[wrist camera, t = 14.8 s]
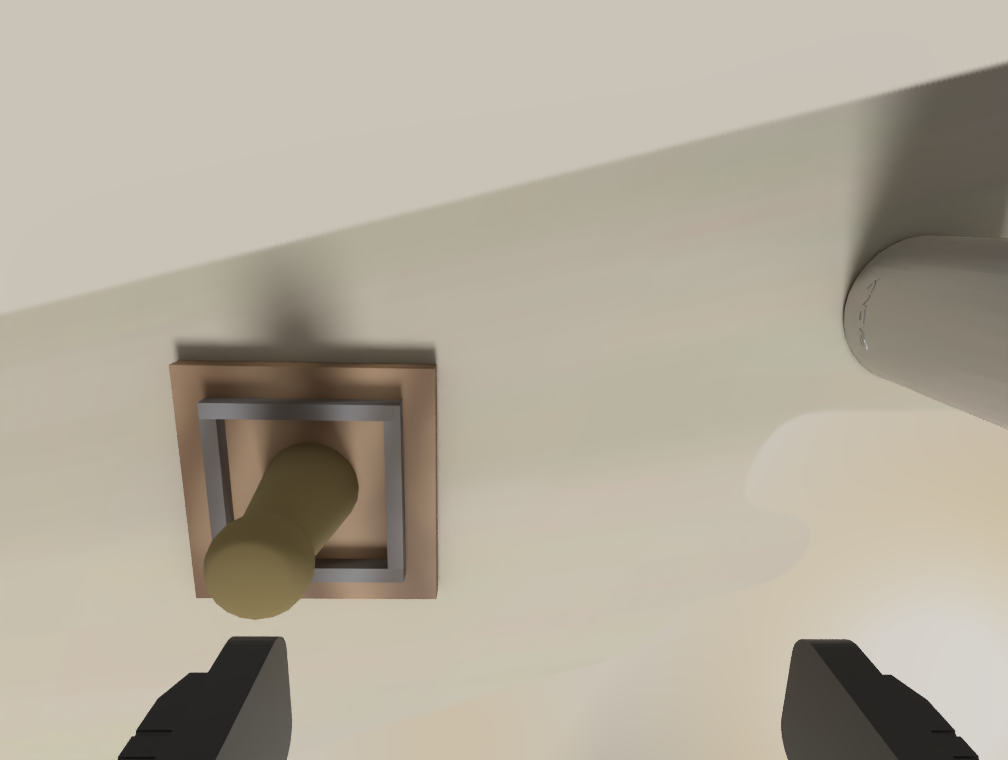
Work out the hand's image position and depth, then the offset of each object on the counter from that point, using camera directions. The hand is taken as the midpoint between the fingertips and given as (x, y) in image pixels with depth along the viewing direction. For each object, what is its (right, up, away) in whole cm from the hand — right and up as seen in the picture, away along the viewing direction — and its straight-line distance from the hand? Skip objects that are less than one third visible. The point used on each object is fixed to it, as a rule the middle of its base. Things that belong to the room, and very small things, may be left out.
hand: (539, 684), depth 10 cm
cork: (-13, -2, +30) cm, 33 cm away
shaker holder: (-13, -2, +31) cm, 34 cm away
